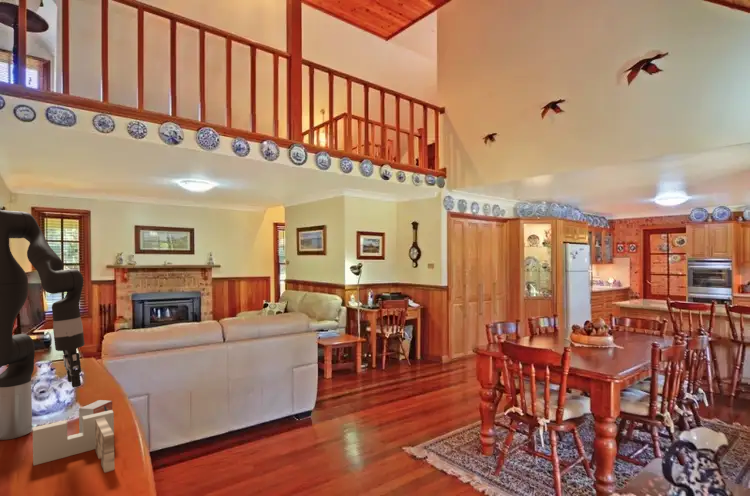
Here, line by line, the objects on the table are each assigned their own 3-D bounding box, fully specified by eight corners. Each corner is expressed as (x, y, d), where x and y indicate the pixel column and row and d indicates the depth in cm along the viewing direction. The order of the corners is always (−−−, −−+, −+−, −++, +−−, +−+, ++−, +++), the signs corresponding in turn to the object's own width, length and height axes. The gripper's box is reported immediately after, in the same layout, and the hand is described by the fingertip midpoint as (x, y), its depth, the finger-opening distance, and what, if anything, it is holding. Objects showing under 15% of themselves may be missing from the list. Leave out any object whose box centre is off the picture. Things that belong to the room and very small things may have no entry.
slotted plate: (95, 452, 130) (95, 419, 130) (104, 449, 131) (104, 417, 131) (104, 472, 117) (103, 436, 117) (114, 469, 119) (114, 434, 119)
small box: (93, 441, 137) (92, 409, 137) (78, 440, 138) (78, 408, 138) (113, 431, 144) (112, 400, 144) (99, 430, 146) (98, 399, 146)
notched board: (33, 465, 122) (32, 430, 122) (33, 461, 124) (32, 427, 124) (114, 443, 135) (113, 412, 135) (112, 440, 137) (111, 409, 137)
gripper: (51, 333, 136) (56, 383, 136) (56, 338, 126) (63, 392, 126) (79, 328, 141) (84, 376, 142) (87, 332, 131) (92, 384, 131)
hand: (74, 384), depth 134 cm, fingers open, 8 cm apart
